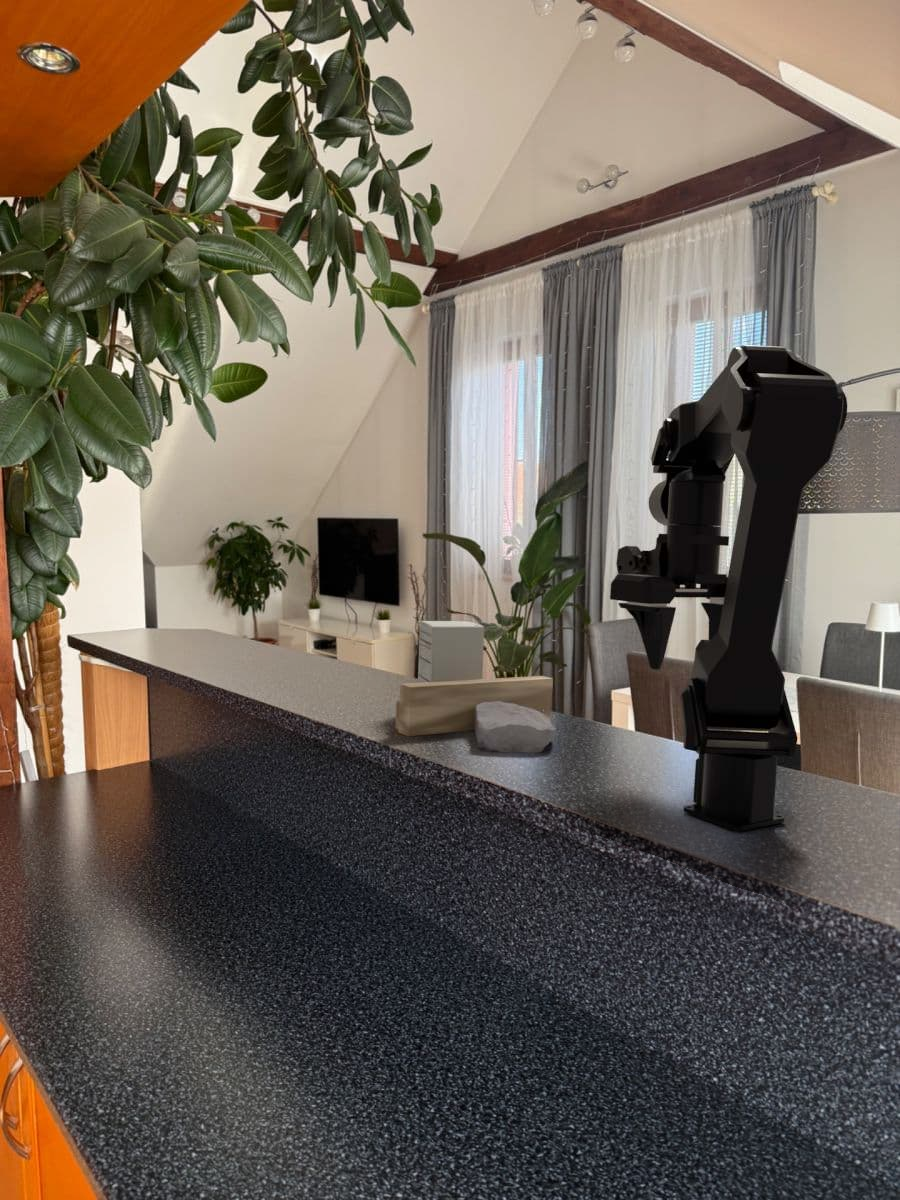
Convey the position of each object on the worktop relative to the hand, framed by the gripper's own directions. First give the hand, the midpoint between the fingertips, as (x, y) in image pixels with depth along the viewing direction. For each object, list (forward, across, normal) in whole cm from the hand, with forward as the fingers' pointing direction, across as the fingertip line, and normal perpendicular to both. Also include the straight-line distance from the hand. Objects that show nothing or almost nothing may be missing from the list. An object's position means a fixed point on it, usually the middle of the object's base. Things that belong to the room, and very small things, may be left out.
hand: (685, 667), depth 100 cm
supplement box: (+11, +9, -34) cm, 37 cm away
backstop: (+11, +10, -25) cm, 29 cm away
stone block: (+12, +10, -17) cm, 23 cm away
